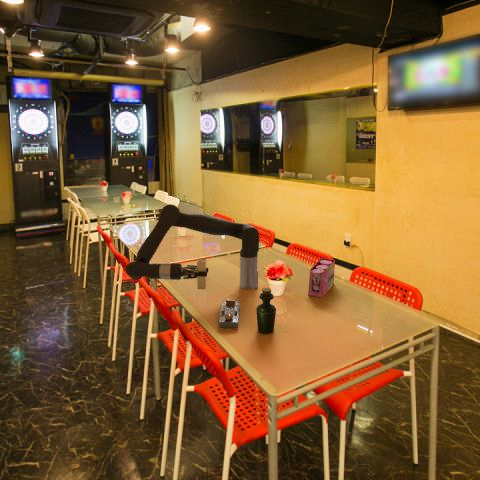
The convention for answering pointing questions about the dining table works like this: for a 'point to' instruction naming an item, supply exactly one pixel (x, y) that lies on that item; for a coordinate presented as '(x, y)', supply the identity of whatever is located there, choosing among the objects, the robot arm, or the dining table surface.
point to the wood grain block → (200, 280)
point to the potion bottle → (266, 312)
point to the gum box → (321, 277)
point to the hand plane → (229, 314)
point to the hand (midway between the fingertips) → (207, 272)
